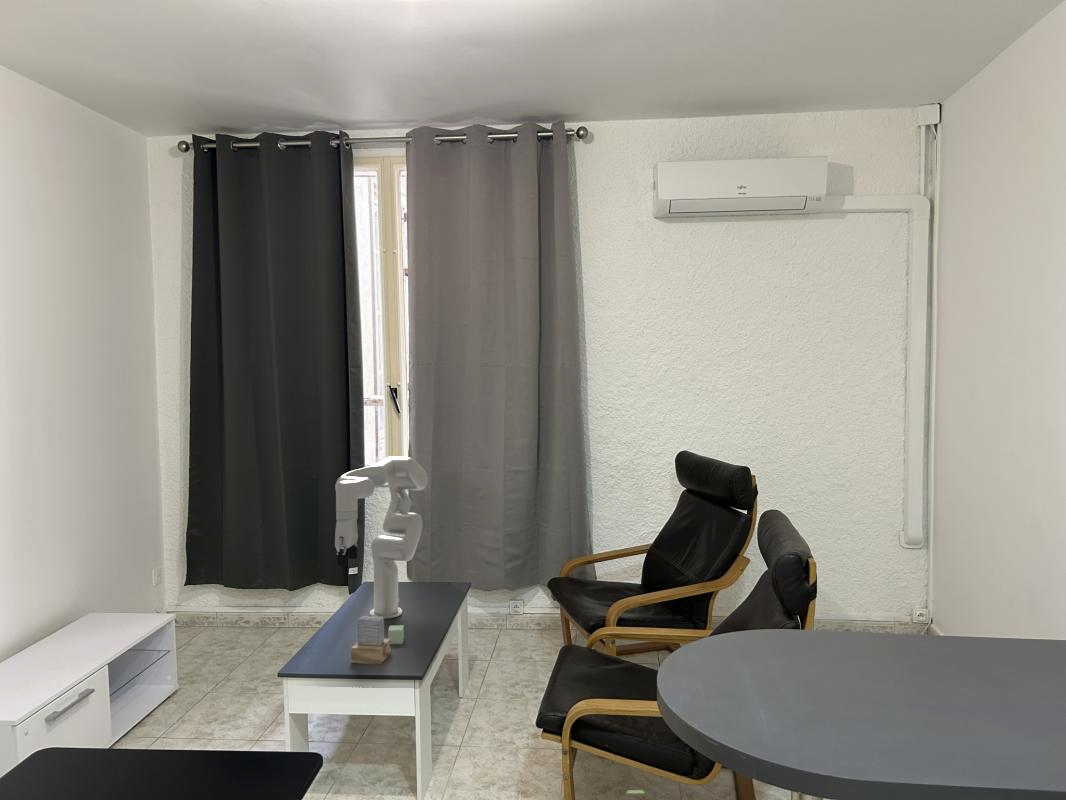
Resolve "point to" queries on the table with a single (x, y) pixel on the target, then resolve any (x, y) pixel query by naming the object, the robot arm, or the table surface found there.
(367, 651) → the oak block
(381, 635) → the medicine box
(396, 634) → the green cube
